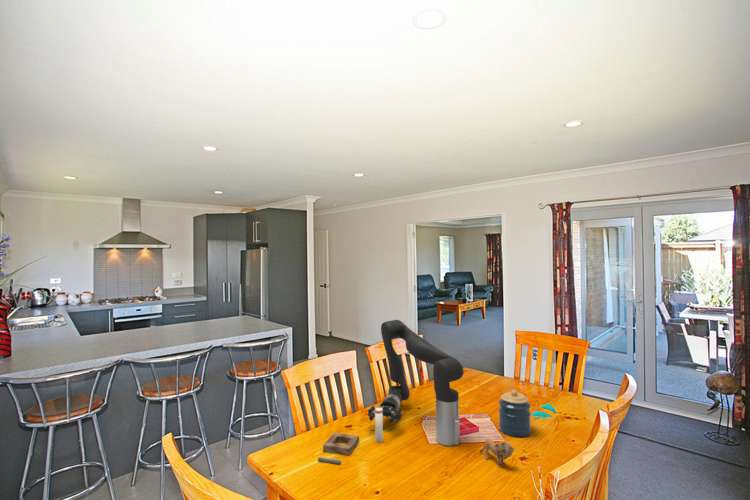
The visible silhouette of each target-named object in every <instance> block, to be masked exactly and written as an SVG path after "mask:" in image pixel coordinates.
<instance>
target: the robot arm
mask: <svg viewBox="0 0 750 500" xmlns="http://www.w3.org/2000/svg"><path fill="white" fill-rule="evenodd" d="M380 334H381V338H382V342H383V346H384V350H385V353H386V357H387V362H388V370H389V378H390V381H391V382H394V383H397V384H399V385H391V386H389V388H388V391H387V392H388V395H387V396H385V398H384V400H383V401H382V402H381V403H380V405H379V406H378V407H376V406H375V405H372V406H371V407H370V408H369V409H368V411H367V416H368V417H369V421H370V422H373V420H375V419H374V418H375V409H376V408H382V409H383V417H386V418H389V424H393V423H394V422H395V421H401V418H402V416H403V410H402V408H400V405H401V404H402V402H403V401H407V400H409V398H410V396H411V393H410V389H409V386H408V384H407V381H406V379H405V373H404V372H405V371H404V364H403V362H402V359H401V357H400V355H398V353H397V352H396V350H395V348H394V346H393V340H396V339H402V340H403V341H404V342H405V348H406V351H407V353H409V354H410V355H411V356H412V357H413V358H415V359H416V360H418V361H420V362H423V363H426V364H431V365H433V368H432V369H433V370H432V372H433V375H432V376H433V390H434V394H435V431H436V432H435V440H436V442H437V443H438V444H439V445H442V446H449V447H450V446H459V443H460V415H459V414H460V413H459V412H460V411H459V410H460V409H459V408H460V407H459V400H460V398H459V397H460V396H459V391H457V389H455V388H451V386H450V383H451V382H455V381H458V380H460V379H462V378H463V376H464V368H463V365H462V364H461V362H460V361H459V360H458V359H457V358H455V357H453V356H452V355H449V354H447V353H446V352H444V351H442V350H441V349H439V348H437V347H436V346H434V345H433V344H432V343H430V342H429V341H428V340H426V339H424V338H423V337H421V336H420V335H418V334H417V333H416V332H415V331H413V330H412V329H410V328H409V327H408V326H407V325H406V323H404V322H403V321H401V320H399V319H393V320H388V321H383V323H381V326H380Z"/></svg>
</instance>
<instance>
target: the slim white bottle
mask: <svg viewBox="0 0 750 500" xmlns="http://www.w3.org/2000/svg"><path fill="white" fill-rule="evenodd" d="M375 408H376V409H375V413H374V415H375V417H374V418H375V419H374V420H375V421H374V423H375V425H374V427H375V429H374V431H375V437H374V438H375V442H376V443H382V442H383V441H384V440H383V439H384V435H383V433H384V432H383V431H384V429H383V428H384V426H383V423H384V422H383V421H384V420H383V419H384V416H383V409H382V408H378V407H375Z"/></svg>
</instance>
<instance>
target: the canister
mask: <svg viewBox="0 0 750 500" xmlns="http://www.w3.org/2000/svg"><path fill="white" fill-rule="evenodd" d="M498 404H499V408H498V413H499V414H498V417H499V418H498V419H499V420H498V421H499V422H498V427H499V430H500V431H501V433H502V434H505V435H507V436H510V437H514V438H525V437H528V436H529V435H531V431H532V427H531V416H532V415H531V414H532V412H531V411H530V408H531V404H530V403H529V398H528V397H526V396H525V395H524V394H522V393H520V392H518V391H517V390H516V389H512V390H511V391H507V392H505V393H503V394H501V395H500V399H499V400H498Z"/></svg>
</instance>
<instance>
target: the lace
mask: <svg viewBox="0 0 750 500" xmlns="http://www.w3.org/2000/svg"><path fill="white" fill-rule="evenodd" d="M317 461H319V462H325V463H331V464H335V465H336V464H337V465H341V464H342V461H341V460H339V459H333V458H329V457H327V458H326V457H320V456H319V457H318V458H317Z"/></svg>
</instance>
